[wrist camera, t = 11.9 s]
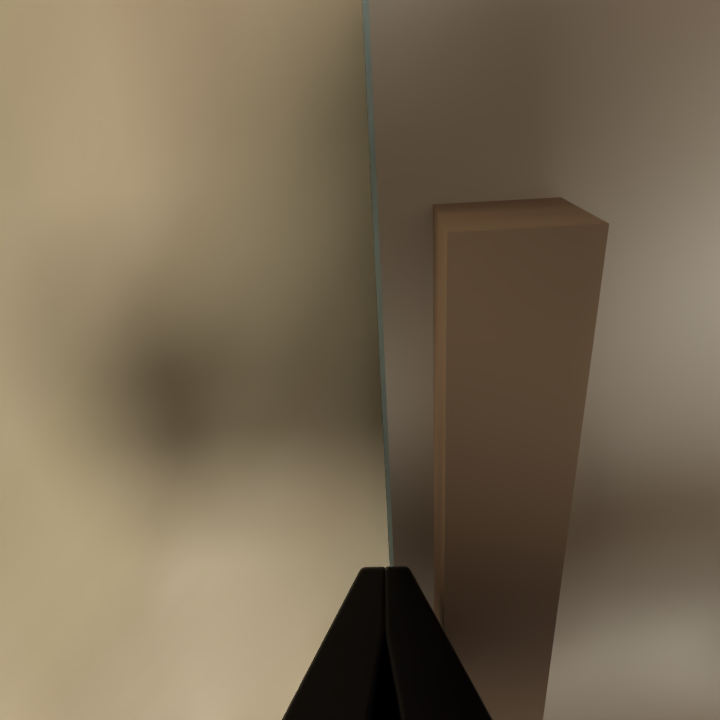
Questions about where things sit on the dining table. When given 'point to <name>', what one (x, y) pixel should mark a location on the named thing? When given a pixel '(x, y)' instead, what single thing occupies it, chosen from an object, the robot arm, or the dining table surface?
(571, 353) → the slatted box lid
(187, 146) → the dining table surface
